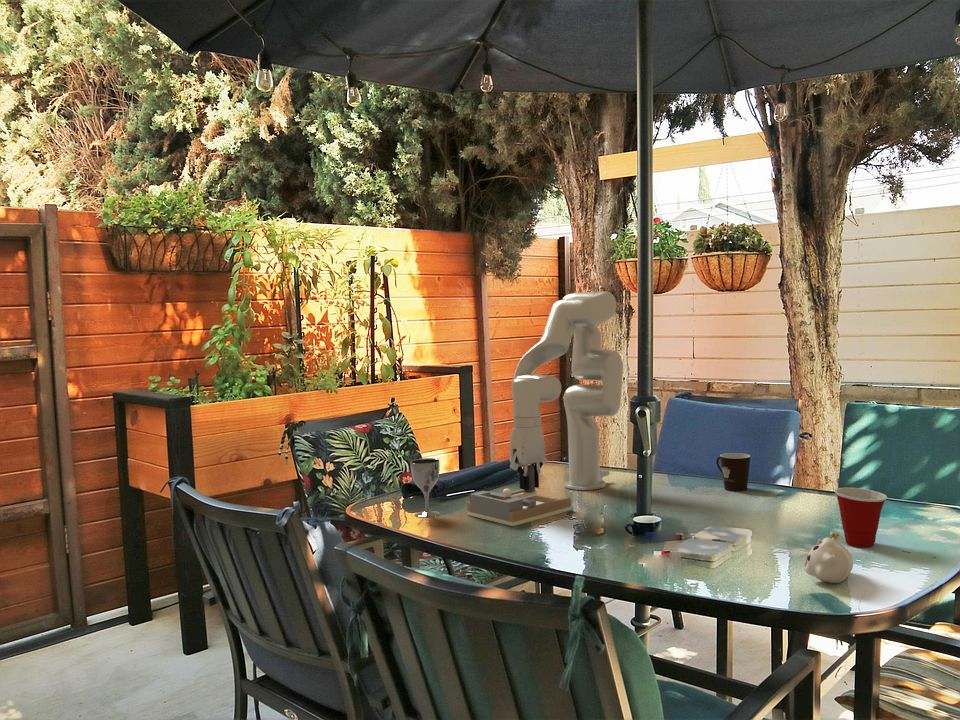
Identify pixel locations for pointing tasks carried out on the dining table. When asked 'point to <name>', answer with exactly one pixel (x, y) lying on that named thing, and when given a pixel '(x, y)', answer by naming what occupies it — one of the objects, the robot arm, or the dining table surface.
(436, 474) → the wine glass
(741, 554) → the dining table surface
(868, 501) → the plastic cup
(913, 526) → the dining table surface
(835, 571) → the white bulbous lump
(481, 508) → the foosball lane
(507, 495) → the kicker rod
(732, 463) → the coffee mug
